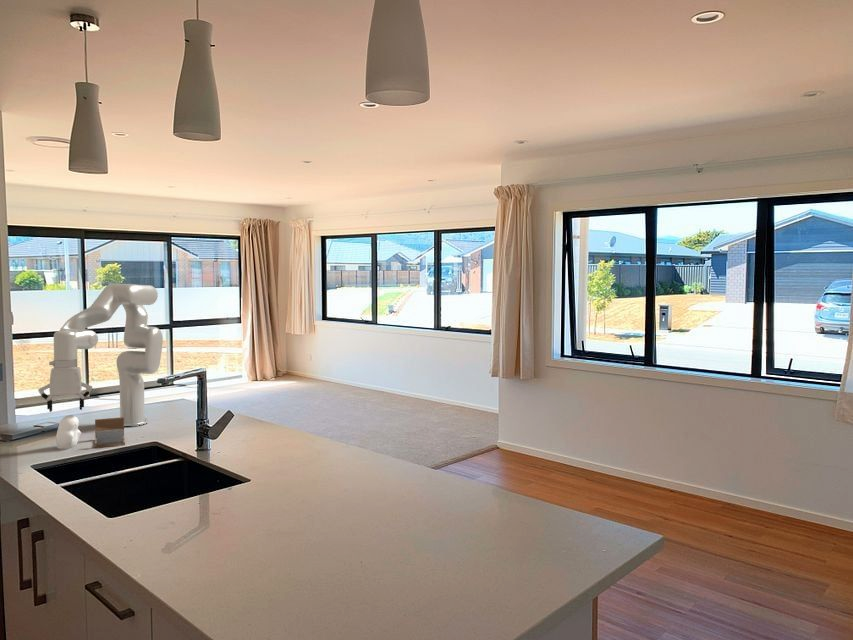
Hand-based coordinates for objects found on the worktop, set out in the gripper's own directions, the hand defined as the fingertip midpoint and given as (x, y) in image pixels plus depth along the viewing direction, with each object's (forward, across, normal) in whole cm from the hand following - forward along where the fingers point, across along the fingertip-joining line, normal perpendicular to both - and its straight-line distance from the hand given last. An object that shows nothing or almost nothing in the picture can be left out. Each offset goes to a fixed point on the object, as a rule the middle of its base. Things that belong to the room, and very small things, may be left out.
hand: (66, 410), depth 229 cm
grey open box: (+14, +14, +2) cm, 20 cm away
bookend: (+13, +14, -3) cm, 20 cm away
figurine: (+14, 0, +1) cm, 14 cm away
